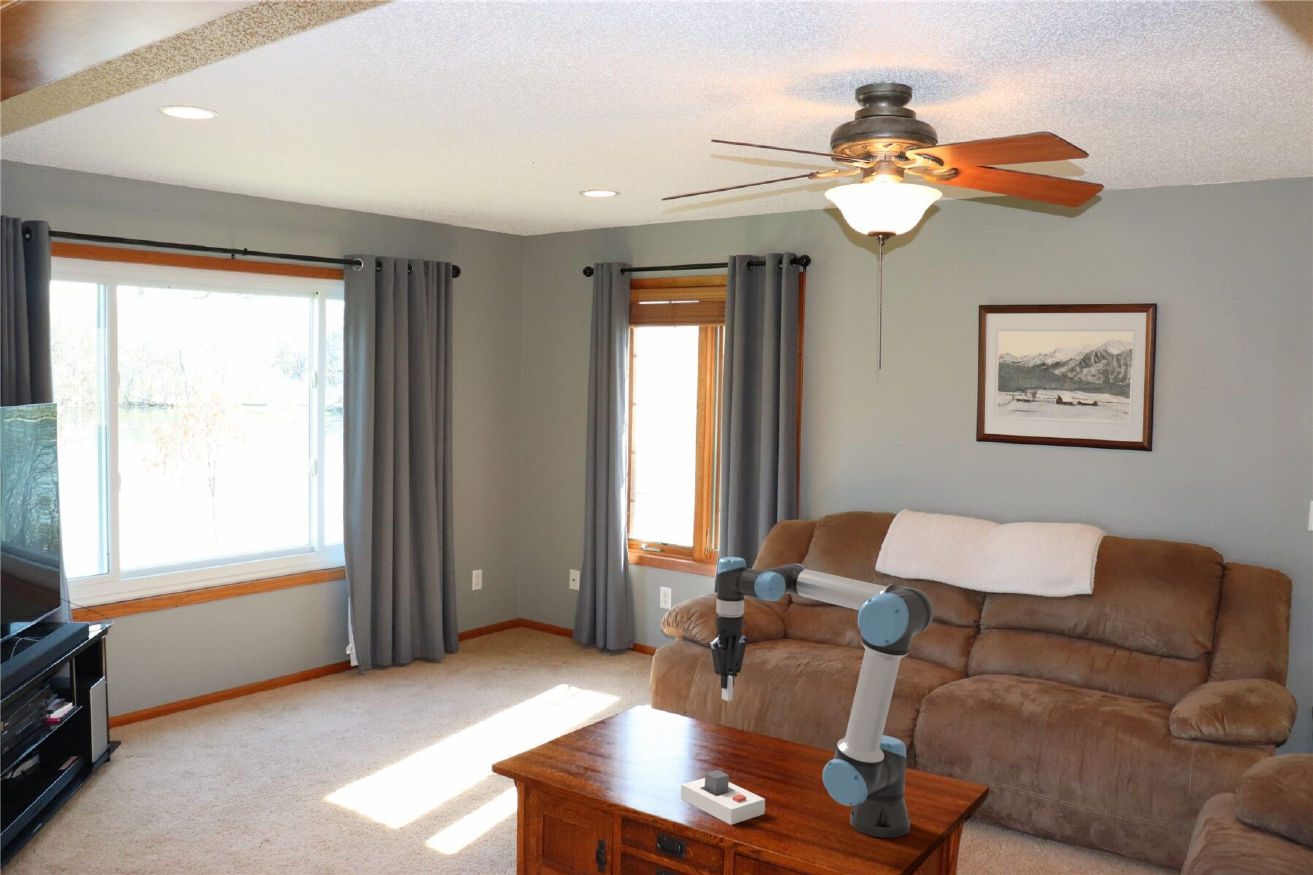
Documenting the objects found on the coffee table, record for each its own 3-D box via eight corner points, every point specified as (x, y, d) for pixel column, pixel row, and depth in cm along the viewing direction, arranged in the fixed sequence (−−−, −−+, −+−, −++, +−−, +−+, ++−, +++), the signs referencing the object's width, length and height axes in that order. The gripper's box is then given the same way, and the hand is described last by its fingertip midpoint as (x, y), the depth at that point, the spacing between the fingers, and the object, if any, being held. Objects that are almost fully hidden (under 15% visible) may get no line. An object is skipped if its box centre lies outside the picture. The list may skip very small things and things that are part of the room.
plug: (727, 804, 280) (728, 774, 280) (715, 807, 277) (716, 778, 277) (716, 798, 284) (717, 769, 283) (704, 802, 281) (705, 773, 280)
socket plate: (764, 813, 274) (765, 795, 274) (730, 824, 267) (731, 806, 267) (714, 789, 290) (714, 772, 290) (680, 798, 282) (681, 781, 282)
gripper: (738, 608, 291) (735, 692, 292) (702, 614, 283) (699, 699, 284) (756, 614, 285) (753, 699, 287) (721, 619, 277) (718, 707, 278)
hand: (726, 699), depth 285 cm, fingers closed
